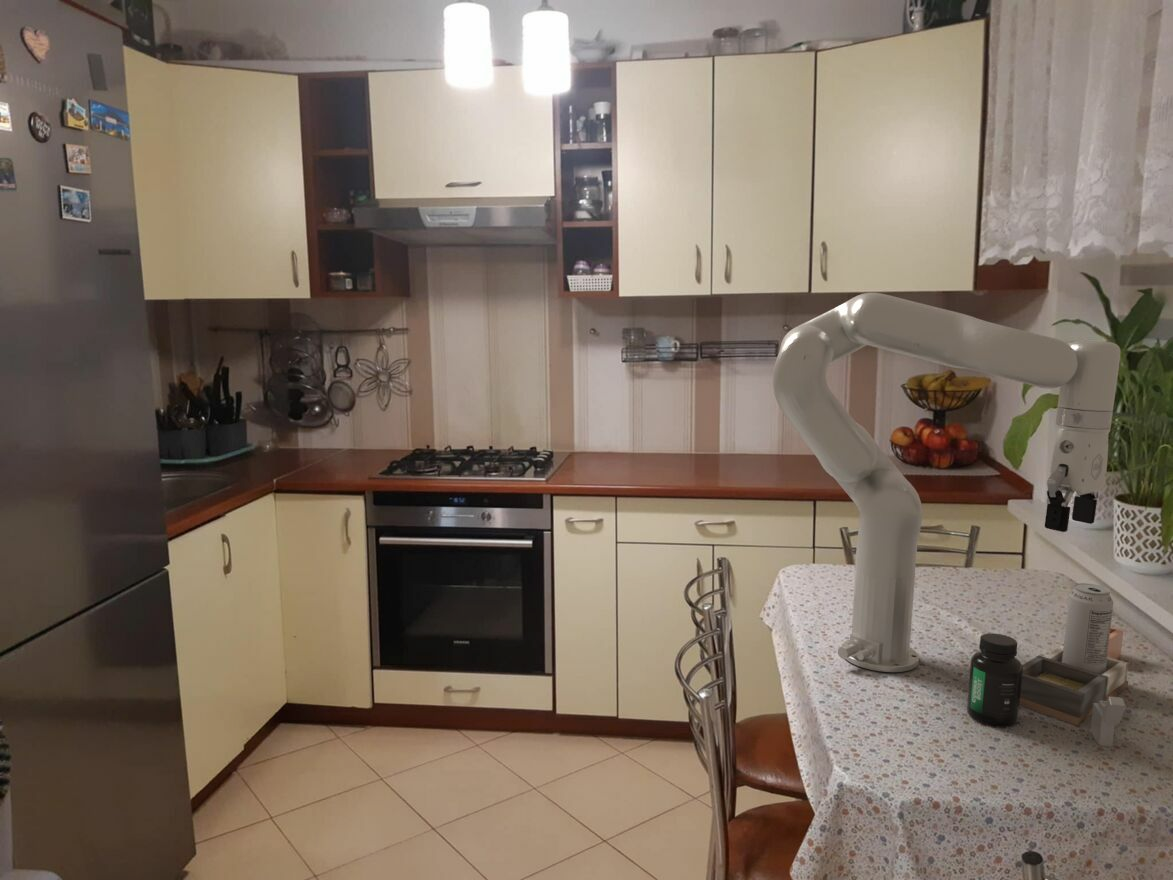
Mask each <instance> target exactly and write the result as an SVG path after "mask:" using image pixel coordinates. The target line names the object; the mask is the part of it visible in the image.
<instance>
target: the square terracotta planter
mask: <svg viewBox="0 0 1173 880" xmlns="http://www.w3.org/2000/svg"><path fill="white" fill-rule="evenodd" d="M1123 637H1124V629H1121V628H1117V627H1114V626H1113V627H1112V626H1111V628H1110V637H1109V645H1108V654H1107V657H1110V658H1114V659H1117V660H1120V659H1121V655H1122V648H1123V647H1122V646H1123Z"/></svg>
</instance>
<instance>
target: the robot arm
mask: <svg viewBox="0 0 1173 880" xmlns="http://www.w3.org/2000/svg"><path fill="white" fill-rule="evenodd" d="M867 346H870V347H874V348H876V349H879V350H880V349H881V350H883V351H884V350H885V351H888V352H893V353H897V354H899V355H900V354H901V355H905V356H908V357H912V358H915V359H919V360H923V361H927V362H930V363H935V364H937V365H942V366H945V367H950V368H955V369H956V368H957V369H962V370H963V369H964V370H970V371H973V372H974V371H976V372H978V373H983V374H988V375H990V376H991V375H992V376H996V377H999V378H1002V379H1007V380H1010V381H1013V382H1014V381H1015V382H1019V383H1022V384H1026V385H1029V386H1033V387H1037V388H1041V389H1050V390H1051V389H1055V388H1059V392H1058V393H1059V394H1058V400H1057V402H1058V403H1057V408H1056V416H1055V424H1054V428H1057V429H1058V430H1057V433H1056V438H1055V441H1054V446H1053V447H1054V448H1053V452H1052V457H1051V461H1050V467H1049V468H1050V469H1049V477H1048V479H1047V481H1046V485H1047V491H1046V495H1047V497H1046V505H1047V506H1046V513H1045V520H1044V528H1045V529H1047V530H1053V531H1057V532H1061V533H1065V532H1068V530H1069V529H1068V528H1069V522H1070V516H1071V515H1072V516H1071V519H1072V521H1075V522H1079V523H1085V524H1089V525H1092V524H1094V523H1095V518H1096V511H1097V505H1098V504H1097V503H1098V498H1099V491H1100V490H1103V489H1104V488H1105V486H1106V483H1107V482H1106V481H1107V471H1108V470H1107V467H1108V457H1109V433H1110V432H1111V426H1112V420H1113V414H1114V405H1115V399H1116V398H1115V397H1116V391H1117V384H1118V378H1119V377H1118V375H1119V368H1120V364H1121V363H1120V360H1121V348H1120V346H1119V345H1118V344H1116V343H1114V342H1112V341H1111V342H1110V341H1100V340H1099V341H1097V340H1074V341H1063V340H1061V339H1058V338H1054V337H1049V336H1045V335H1042V334H1039V333H1034V332H1030V331H1026V330H1022V329H1018V328H1013V327H1009V326H1007V325H1002V324H998V323H994V322H990V321H987V320H983V319H980V318H976V317H974V316H971V315H968V314H965V313H960V312H958V311H953V310H948V309H945V308H941V307H936V306H933V305H928V304H925V303H921V302H917V301H913V300H908V299H906V298H901V297H897V296H893V295H889V294H885V293H880V292H865V293H861V294H858V295H856V296H854V297H852V298H850V299H849V300H846V301H845V302H843V303H842V304H840V305H838V306H836V307H834V308H832V309H829V310H828V311H826V312H824V313H822V314H820V315H818V316H816V317H814V318H812V319H810V320H807V321H806V322H804V323H801V324H800V325H798V326H795V327H794V328H792V329H791V330H790V331H787V333H786V334H785V335H784V336H783V338H782V340H781V343H780V348H779V352H778V355H777V357H776V359H775V364H774V367H773V373H772V387H773V393H774V398H775V400H776V402H777V405H778V407H779V409H780V410H781V412H782V414H783V415H784V417H785V418H786V420H787V421H788V422H789V423H790V425H791V426H792V427H793V428H794V430H795V431H796V432H797V434H798V435H799V436H800V438H801V439H802V441H803V442H804V443H805V444H806V445H807V447H808V448H809V449H810V450H811V452H812V453H813V454H814V456H815V457H816V459H817V460H818V463H820V465H821V467H822V469H823V470H825V472H826V473H827V474H829V475H830V476H831V477H832V478H834V479H835V481H836V482H837V483H838V484H839V486H840V487H841V488H842V489H843V490H844V492H845V493H846V494H847V495H848V496H849V498H850V499H851V501H853V503H854V504H855V505H856V506H857V508H858V512H859V521H858V523H859V524H858V532H857V541H856V548H855V549H856V551H855V552H856V553H855V567H854V568H855V573H854V587H853V588H854V589H853V590H854V591H853V604H852V621H851V622H852V624H851V633H850V634H849V639H848V640H845V641H844V642H843V643H842V644H841V647H839V648H838V649H837V655H838V657H840V659H843V660H846V661H847V662H849V663H851V664H853V665H855V666H857V667H860V668H862V669H866V670H869V671H874V672H875V671H876V672H883V673H903V672H908V671H911V670H913V669H915V668H917V667H918V665H919V660H920V656H919V654H918V653H917V651H915V649H914V648H912V647H911V638H912V637H911V636H912V635H911V634H912V625H913V624H912V622H913V608H914V597H915V596H914V595H915V582H916V581H915V580H916V566H917V565H916V564H917V555H918V554H917V552H918V545H919V538H920V532H921V529H922V521H923V507H922V502H921V499H920V495H919V493H918V492H917V490H916V488H915V487H914V486H913V485H912V483H911V482H910V481H909V480H907V478H906V477H905V476H904V475H903V474H902V473H901V471H900V470H899V469H898V468H897V466H896V465H895V464H894V463H893V462H892V460H891V459H890V458H889V456H887V454H886V453H885V452H884V451H883V450H882V448H881V447H880V446H879V444H878V443H877V442H876V441H875V440H874V439H873V437H872V435H871V434H870V433H869V432H868V431H867V429H866V428H865V427H864V426H863V425H861V424H860V423H857V422H856V420H855V419H854V418H853V417H852V416H851V414H850V413H849V412H848V411H847V409H846V408H845V407H844V406H843V404H842V402H841V401H840V400H839V399H838V397H837V396H836V395H835V394H834V393H833V391H832V390H831V389H830V387H829V384H828V382H827V371H828V369H829V367H830V365H831V364H832V363H834V362H837V361H838V360H840V359H843V358H844V357H846V356H848V355H850V354H853V353H855V352H857V351H859V350H860V349H862V348H864V347H867ZM1074 493H1076V494H1077V495H1075V496H1074ZM1063 494H1064V495H1063ZM1073 496H1074V498H1073V499H1074V500H1073V506H1072V507H1073V508H1072V514H1071V506H1069V505H1070V503H1071V500H1072V497H1073ZM1070 514H1071V515H1070Z"/></svg>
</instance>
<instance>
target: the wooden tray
mask: <svg viewBox="0 0 1173 880" xmlns="http://www.w3.org/2000/svg"><path fill="white" fill-rule="evenodd" d="M1063 648H1064V644H1062V645H1061V646H1059V647H1058V648H1056V649H1054V650H1053V651H1051V652H1049V653H1047V654H1046V655H1044V656H1043V655H1037V656H1035V657H1033V658H1032V659H1030V660H1029V661H1027V662H1025V663H1024V664H1022V666H1023V674H1022V685H1021V695H1020V706H1019V707H1024V708H1027V709H1029V710H1032V711H1035V712H1037V713H1040V714H1043V715H1046V716H1049V717H1051V718H1055V719H1057V720H1059V721H1063V722H1066V723H1069V724H1071V725H1074V726H1079V725H1080V724H1082V723H1083V722H1084V721H1085V720H1087V719H1088V718H1089V717H1092V711H1093V703H1099V701H1107V700H1108V697H1110V696H1111V697H1118V695H1120V694H1121V693H1122V692H1124V691H1125V690H1127V689H1128V687H1129V681H1128V672H1129V662H1127V661H1123V660H1120V659H1118V660H1117V659H1114V658H1110V657H1107V663H1106V672H1105V673H1103V674H1102V675H1101V674H1098V673H1095V672H1091V671H1088V670H1085V669H1082V668H1078V667H1075V666H1072V665H1069V664H1065V663H1062V657H1063ZM1043 672H1047V673H1050V674H1053V675H1056V676H1060V677H1063V678H1066V679H1069V680H1072V681H1075V682H1078V683H1082V684H1085V686H1083V687H1082V688H1080V689H1079V690H1078V691H1076V690H1073V689H1070V688H1066V687H1063V686H1060V685H1057V684H1054V683H1051V682H1048V681H1045V680H1042V679H1039V678H1036V677H1037V676H1038V675H1040V674H1041V673H1043Z"/></svg>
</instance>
